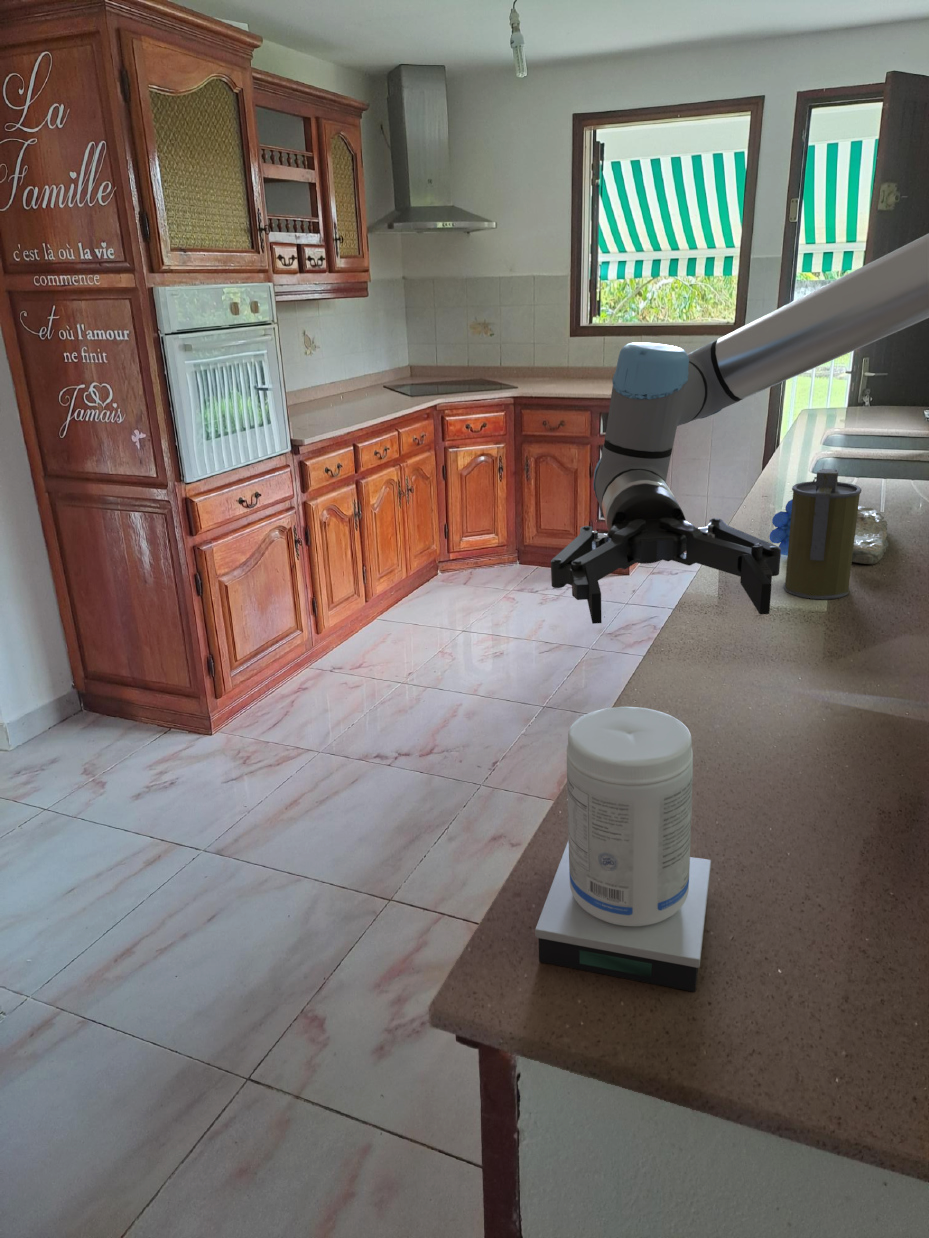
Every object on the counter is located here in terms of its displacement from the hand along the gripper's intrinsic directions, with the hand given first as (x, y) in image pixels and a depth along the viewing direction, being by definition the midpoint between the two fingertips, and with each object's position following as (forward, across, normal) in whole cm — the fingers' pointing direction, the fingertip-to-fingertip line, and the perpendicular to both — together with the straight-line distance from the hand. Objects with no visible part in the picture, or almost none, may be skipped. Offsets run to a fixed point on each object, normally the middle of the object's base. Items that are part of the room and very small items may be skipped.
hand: (680, 604), depth 72 cm
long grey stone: (-100, -54, -36) cm, 120 cm away
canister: (-72, -36, -33) cm, 87 cm away
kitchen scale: (+11, +6, -24) cm, 27 cm away
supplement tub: (+10, +6, -21) cm, 24 cm away
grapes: (-91, -40, -35) cm, 106 cm away
